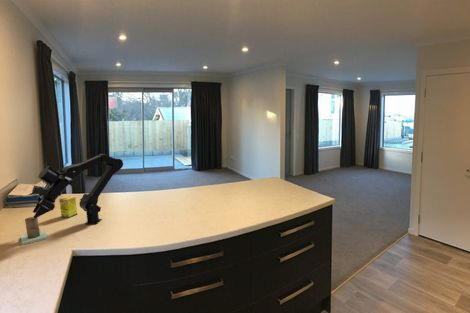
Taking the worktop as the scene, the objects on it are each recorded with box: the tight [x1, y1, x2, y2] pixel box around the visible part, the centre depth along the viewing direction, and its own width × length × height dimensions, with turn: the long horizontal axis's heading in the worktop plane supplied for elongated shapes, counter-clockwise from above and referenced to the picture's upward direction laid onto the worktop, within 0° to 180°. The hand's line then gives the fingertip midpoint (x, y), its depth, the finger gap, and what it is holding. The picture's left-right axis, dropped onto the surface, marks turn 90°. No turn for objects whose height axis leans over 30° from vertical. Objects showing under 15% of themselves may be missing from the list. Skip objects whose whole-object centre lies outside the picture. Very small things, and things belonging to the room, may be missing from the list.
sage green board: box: [20, 230, 48, 246], centre depth 149 cm, size 10×10×1 cm
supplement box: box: [58, 195, 78, 219], centre depth 178 cm, size 6×6×11 cm
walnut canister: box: [24, 216, 40, 239], centre depth 148 cm, size 5×5×9 cm
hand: (33, 215), depth 148 cm, fingers open, 9 cm apart
